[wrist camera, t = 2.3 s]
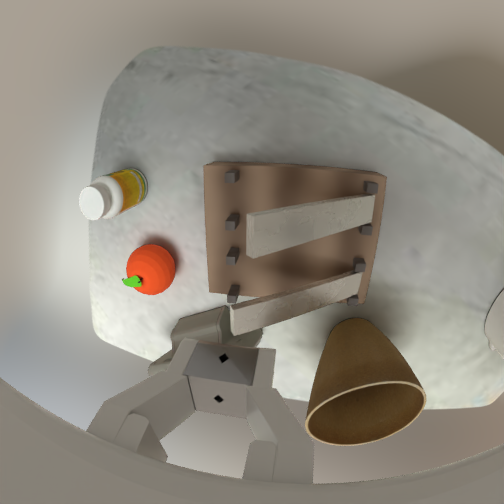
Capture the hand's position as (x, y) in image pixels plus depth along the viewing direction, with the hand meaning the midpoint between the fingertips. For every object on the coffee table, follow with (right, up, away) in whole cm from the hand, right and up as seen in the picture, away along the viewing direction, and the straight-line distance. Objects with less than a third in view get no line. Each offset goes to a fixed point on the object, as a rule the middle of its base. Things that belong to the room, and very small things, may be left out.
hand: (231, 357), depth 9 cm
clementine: (-13, +2, +31) cm, 34 cm away
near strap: (+7, +7, +15) cm, 18 cm away
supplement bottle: (-16, +13, +27) cm, 34 cm away
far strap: (+6, -1, +20) cm, 21 cm away
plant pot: (+16, -10, +32) cm, 37 cm away
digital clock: (-5, -9, +35) cm, 37 cm away
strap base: (+6, +6, +26) cm, 28 cm away
